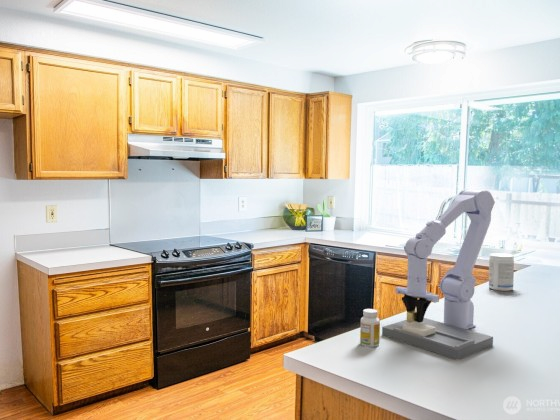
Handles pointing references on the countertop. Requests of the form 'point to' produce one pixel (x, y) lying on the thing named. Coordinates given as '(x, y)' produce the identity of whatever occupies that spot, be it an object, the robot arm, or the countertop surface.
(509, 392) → the countertop surface
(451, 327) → the grey slotted tray
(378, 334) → the supplement bottle
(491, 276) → the supplement tub
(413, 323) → the cover
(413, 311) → the gold metal block
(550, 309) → the countertop surface
